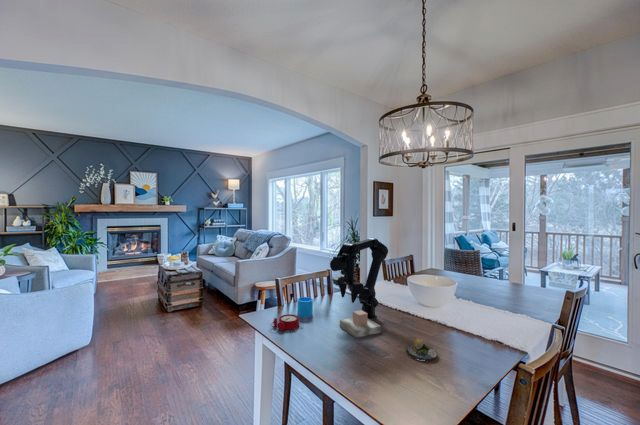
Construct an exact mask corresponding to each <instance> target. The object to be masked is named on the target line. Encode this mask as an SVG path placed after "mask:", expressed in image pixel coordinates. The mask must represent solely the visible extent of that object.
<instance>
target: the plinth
mask: <svg viewBox="0 0 640 425" xmlns="http://www.w3.org/2000/svg"><path fill="white" fill-rule="evenodd" d="M339 327H340V328H342V329H343V330H344V331H346V332H347V333H348V334H350V335H351V336H353V337H354V338H355V339H357V338H362V337H366V336H367V337H368V336H371V335H375V334H379V333H382V325H380V324H378V323H376V321H373V320H371V318H369V319H368V318H367V324H365V325H360V326H358V325H357V324H355V323H354V322H353V317H349V318H345V319H344V318H343V319H339Z"/></svg>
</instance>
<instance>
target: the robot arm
mask: <svg viewBox="0 0 640 425" xmlns="http://www.w3.org/2000/svg"><path fill="white" fill-rule="evenodd" d="M368 248H369V250H370V251H371V258H372V260H371V264H370V267H369V270H368V275H367V277H366V280H365V283H364V284H363V283H361V282H359V281H357V280H356V278H355V274H357V271H356V270H355V260H358V257H357V256H356V255H358V254H359V252H361V251H362V250H366V249H368ZM388 253H389V249H388V247H387V246H386V245H385V244H384V243H382V242H381V241H379V239H377V238H373V237H369V238H366V239H363V240H360V241H355V242H344V243H343V244H342V245H341V247H340V249H339V251H338V253H337V254H336V256H333V257H332V259H331V260H330V263H329V267H330V270H332V271H333V272H338V271H340V273H339V274H338V273H337V274H336V275H334V276H332V277H331V279H332V280H331V282H332V284H333V285H335V286H337V287H338V288H339V292H340V294H341V298H345V295H346V291H347V287H348V288H349V289H348V290H349V292H350V299H351V303H352V304H353V303H355V301H356V299H357V297H358V300H359V304H361V306H362V307H361V310H362V311H364V312H366V313H368V319H373V318H377V317H378V316H377V315H376V308H377V307H378V305H379V301H378V298H376V294H377V293H376V289H375V286H376V283H377V280H378V276H379V272H380V269H381V265H382V262H383V261H385V259H387V256H388Z"/></svg>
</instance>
